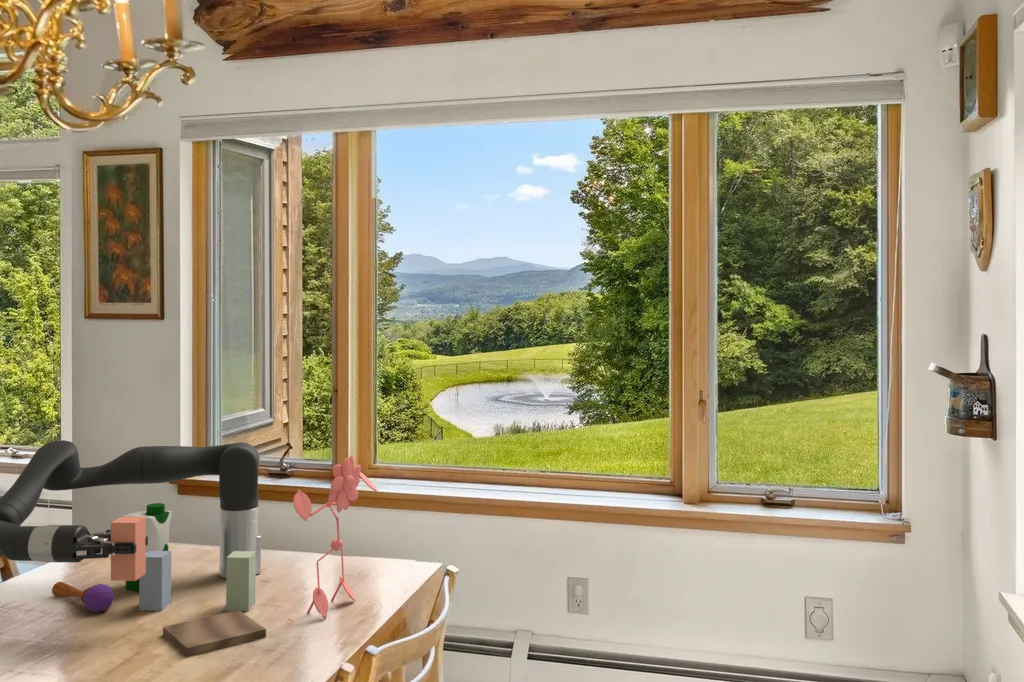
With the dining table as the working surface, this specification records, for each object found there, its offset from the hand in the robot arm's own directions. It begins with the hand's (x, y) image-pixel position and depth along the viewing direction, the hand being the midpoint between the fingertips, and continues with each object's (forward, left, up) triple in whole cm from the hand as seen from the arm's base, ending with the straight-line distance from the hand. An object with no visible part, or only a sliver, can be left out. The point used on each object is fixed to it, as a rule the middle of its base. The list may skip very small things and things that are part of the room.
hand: (141, 544), depth 171 cm
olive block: (-22, -1, -18) cm, 28 cm away
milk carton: (-10, -28, -18) cm, 35 cm away
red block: (+2, -2, -7) cm, 7 cm away
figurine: (-39, +16, -18) cm, 46 cm away
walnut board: (-11, +12, -18) cm, 24 cm away
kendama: (+5, -24, -19) cm, 31 cm away
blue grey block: (-7, -12, -18) cm, 23 cm away
